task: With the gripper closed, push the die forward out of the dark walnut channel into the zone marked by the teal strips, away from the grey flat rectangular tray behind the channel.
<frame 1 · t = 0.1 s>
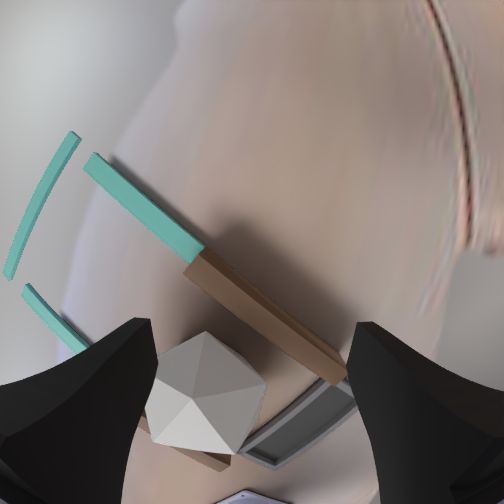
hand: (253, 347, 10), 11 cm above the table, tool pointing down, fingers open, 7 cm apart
die: (209, 366, 21), on the table
grey flat rectangular tray: (300, 427, 22), on the table
channel: (213, 371, 21), on the table
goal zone: (94, 274, 20), on the table
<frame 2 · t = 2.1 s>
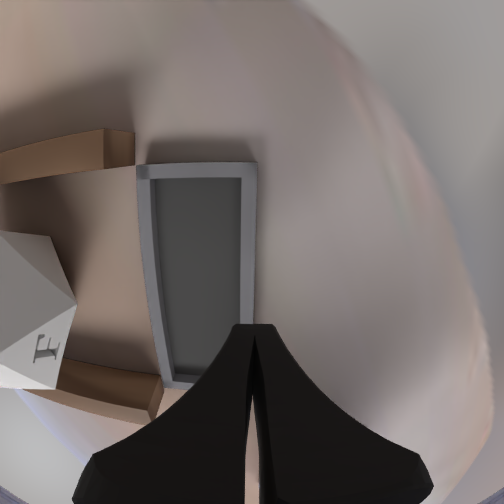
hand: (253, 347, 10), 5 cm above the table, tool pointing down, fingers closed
die: (45, 277, 14), on the table
grey flat rectangular tray: (200, 294, 13), on the table
channel: (49, 279, 14), on the table
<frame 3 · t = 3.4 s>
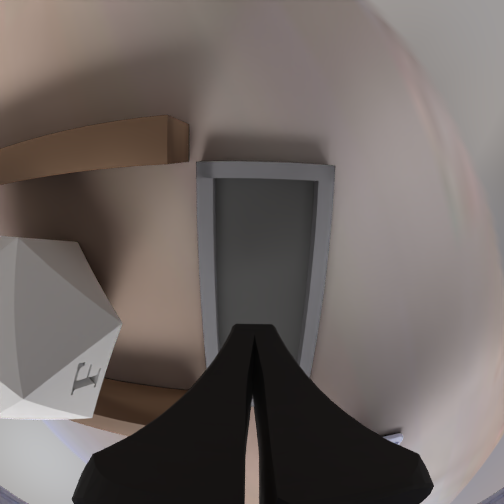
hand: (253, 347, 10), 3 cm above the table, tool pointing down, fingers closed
die: (70, 288, 13), on the table
grey flat rectangular tray: (261, 306, 12), on the table
channel: (75, 291, 13), on the table
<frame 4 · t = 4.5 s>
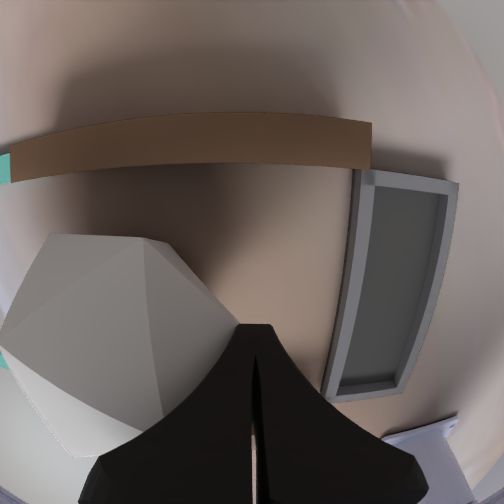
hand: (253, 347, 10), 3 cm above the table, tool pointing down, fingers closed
die: (148, 295, 13), on the table, touching gripper
grey flat rectangular tray: (389, 304, 12), on the table
channel: (184, 299, 13), on the table
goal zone: (7, 283, 13), on the table
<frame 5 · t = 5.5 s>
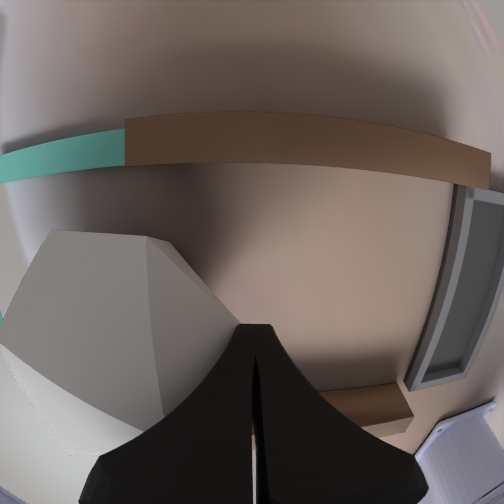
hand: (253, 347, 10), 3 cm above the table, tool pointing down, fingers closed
die: (148, 293, 13), on the table, touching gripper
grey flat rectangular tray: (469, 298, 12), on the table
channel: (307, 301, 13), on the table
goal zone: (69, 290, 13), on the table
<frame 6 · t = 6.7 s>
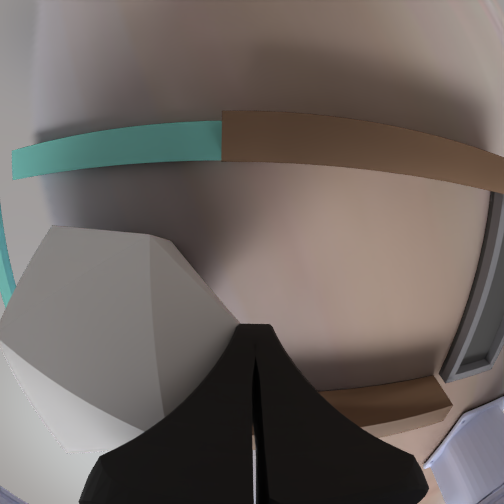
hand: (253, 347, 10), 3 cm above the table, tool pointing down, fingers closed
die: (148, 291, 13), on the table, touching gripper
grey flat rectangular tray: (498, 295, 12), on the table
channel: (368, 299, 13), on the table
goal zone: (116, 294, 13), on the table
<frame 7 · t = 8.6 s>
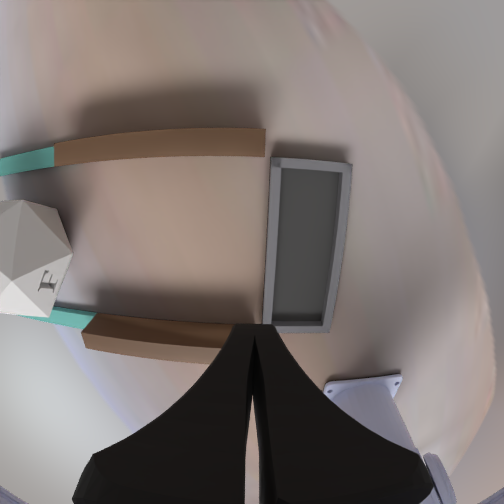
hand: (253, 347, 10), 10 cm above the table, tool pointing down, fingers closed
die: (50, 240, 19), on the table
grey flat rectangular tray: (304, 252, 19), on the table
channel: (162, 245, 19), on the table
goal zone: (35, 242, 19), on the table
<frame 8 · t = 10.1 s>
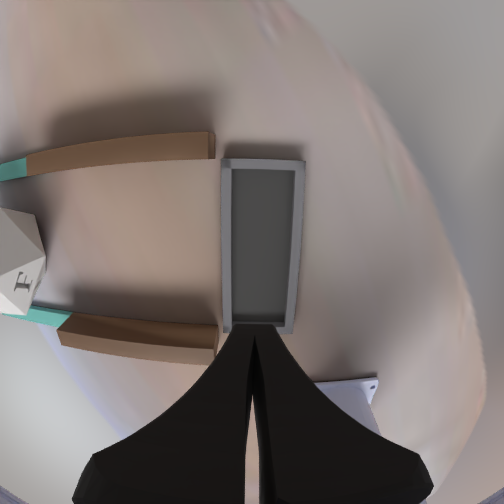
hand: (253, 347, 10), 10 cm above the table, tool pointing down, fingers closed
die: (30, 243, 19), on the table
grey flat rectangular tray: (260, 252, 19), on the table
channel: (126, 247, 19), on the table
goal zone: (17, 245, 19), on the table
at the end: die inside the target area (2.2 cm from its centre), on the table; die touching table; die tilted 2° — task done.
